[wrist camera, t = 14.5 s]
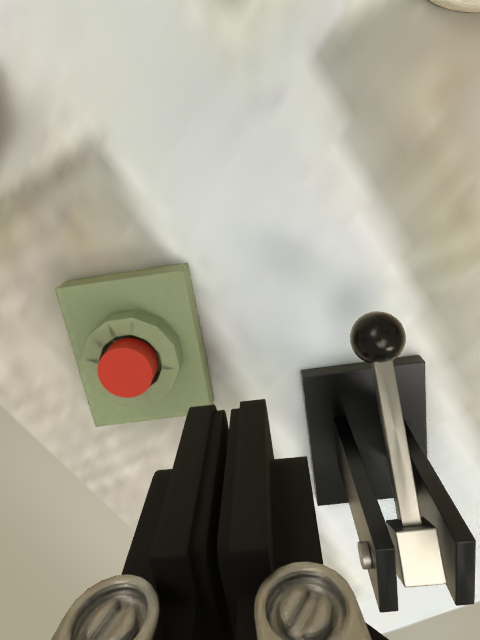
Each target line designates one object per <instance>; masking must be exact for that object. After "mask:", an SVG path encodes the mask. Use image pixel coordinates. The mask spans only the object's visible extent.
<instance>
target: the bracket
mask: <svg viewBox="0 0 480 640" xmlns="http://www.w3.org/2000/svg"><path fill="white" fill-rule="evenodd" d="M393 365H394V371H395V376H396V382H397V387H398V393H399V398H400V404H401V409H402V415H403V421H404V426H405V432H406V437H407V443H408V448H409V454H410V460H411V465H412V471H413V476H414V482H415V487H416V493H417V498H418V504H419V510H420V515H421V517H424V518H425V519H427V520H428V521H429V522H430V523H431V524H432V525H433V526H435V527H436V528H437V533H438V538H439V543H440V549H441V554H442V560H443V565H444V570H445V576H446V581H447V583H446V585H447V587H448V589H449V592H450V594H451V596H452V598H453V600H454V602H455V604H456V605H457V606H458V605H470V604H474V596H475V546H476V540H475V539H474V537H473V535H472V533H471V532H470V530H469V528H468V527H467V525H466V523H465V522H464V520H463V518H462V516H461V515H460V513H459V511H458V510H457V508H456V506H455V505H454V503H453V501H452V499H451V498H450V496H449V494H448V493H447V491H446V489H445V488H444V486H443V484H442V482H441V481H440V479H439V477H438V476H437V474H436V472H435V471H434V469H433V467H432V465H431V464H430V462H429V460H428V459H427V435H426V391H425V361H424V360H423V359H422V358H421V357H420V356H419V355H417V356H409V357H402V358H396V359H394V360H393ZM301 378H302V386H303V394H304V403H305V411H306V419H307V428H308V436H309V444H310V452H311V461H312V469H313V477H314V486H315V494H316V500H317V505H318V506H321V505H331V504H340V503H349V505H350V509H351V512H352V516H353V519H354V523H355V526H356V530H357V533H358V537H359V540H360V542H358V551H359V557H360V562H361V566H362V568H363V569H368V572H369V576H370V579H371V583H372V586H373V590H374V593H375V597H376V600H377V604H378V607H379V611H380V612H392V611H398V595H397V576H396V558H395V547H394V544H393V542H392V539H391V536H390V533H389V531H388V528H387V525H386V523H385V520H384V517H383V514H382V512H381V509H380V506H379V504H378V501H377V500H378V499H388V498H394V495H393V489H392V483H391V478H390V472H389V466H388V460H387V454H386V448H385V443H384V437H383V431H382V425H381V419H380V413H379V408H378V402H377V396H376V390H375V384H374V378H373V373H372V367H371V364H370V363H367V362H362V363H354V364H347V365H339V366H331V367H323V368H315V369H307V370H301Z"/></svg>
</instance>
